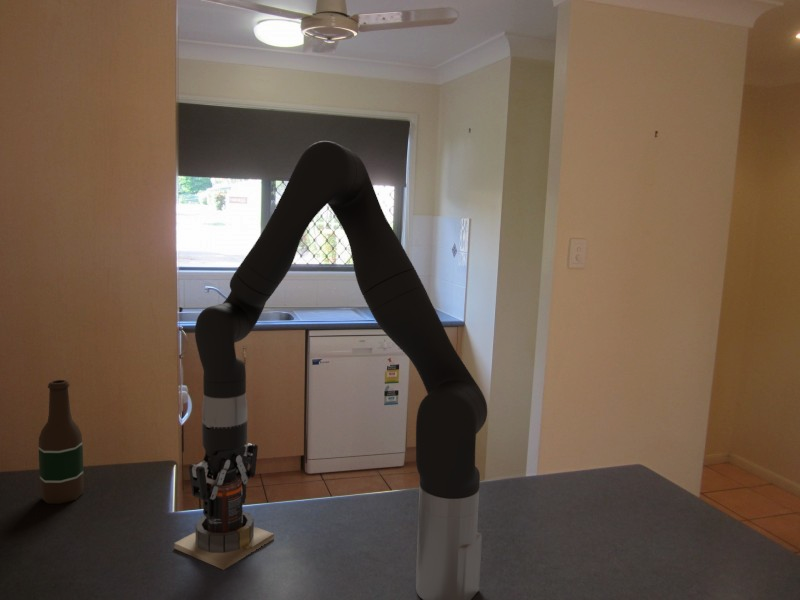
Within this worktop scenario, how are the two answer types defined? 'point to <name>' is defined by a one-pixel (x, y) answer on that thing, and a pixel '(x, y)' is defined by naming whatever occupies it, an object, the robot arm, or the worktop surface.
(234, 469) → the supplement bottle
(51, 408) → the beer bottle
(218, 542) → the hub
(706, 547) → the worktop surface
